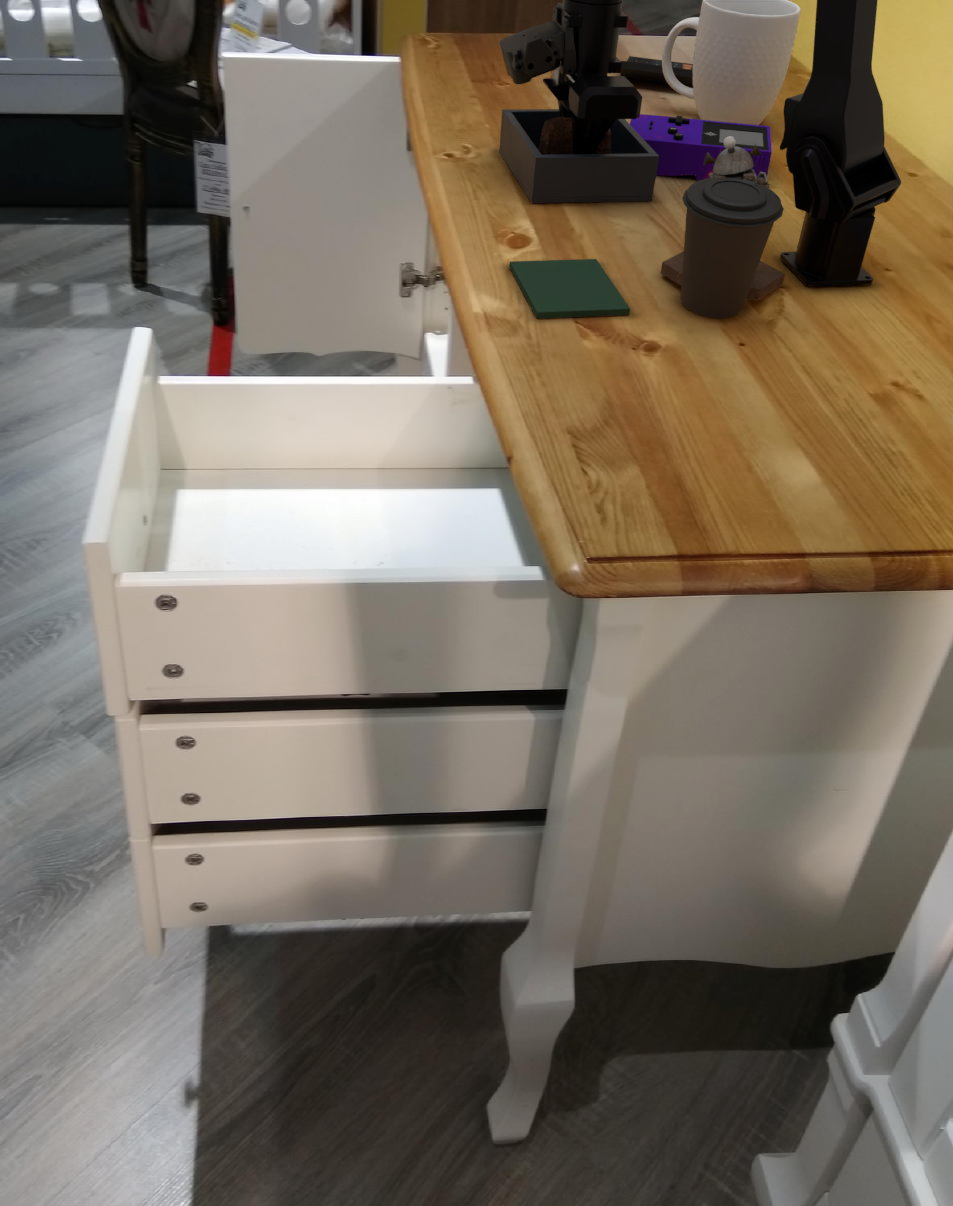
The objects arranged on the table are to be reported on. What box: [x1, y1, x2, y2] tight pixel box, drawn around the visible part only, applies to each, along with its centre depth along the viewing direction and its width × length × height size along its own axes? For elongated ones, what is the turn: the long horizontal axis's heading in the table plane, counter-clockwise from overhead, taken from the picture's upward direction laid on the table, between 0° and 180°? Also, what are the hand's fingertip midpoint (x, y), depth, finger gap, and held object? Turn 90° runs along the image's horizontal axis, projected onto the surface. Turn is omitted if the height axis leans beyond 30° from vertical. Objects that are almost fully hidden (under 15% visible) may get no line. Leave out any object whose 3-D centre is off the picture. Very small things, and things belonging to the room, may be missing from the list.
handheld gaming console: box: [629, 113, 773, 181], centre depth 126 cm, size 9×5×15 cm
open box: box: [498, 108, 659, 204], centre depth 120 cm, size 15×13×4 cm
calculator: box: [619, 55, 693, 88], centre depth 150 cm, size 9×12×3 cm
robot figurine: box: [660, 136, 786, 301], centre depth 99 cm, size 11×9×12 cm
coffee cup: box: [680, 177, 785, 319], centre depth 96 cm, size 8×8×10 cm
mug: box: [661, 0, 802, 125], centre depth 135 cm, size 15×11×13 cm
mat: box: [508, 258, 631, 320], centre depth 100 cm, size 10×8×1 cm
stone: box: [538, 117, 611, 155], centre depth 120 cm, size 8×3×5 cm, turn 99°
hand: (574, 163), depth 121 cm, fingers closed on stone, 3 cm apart
